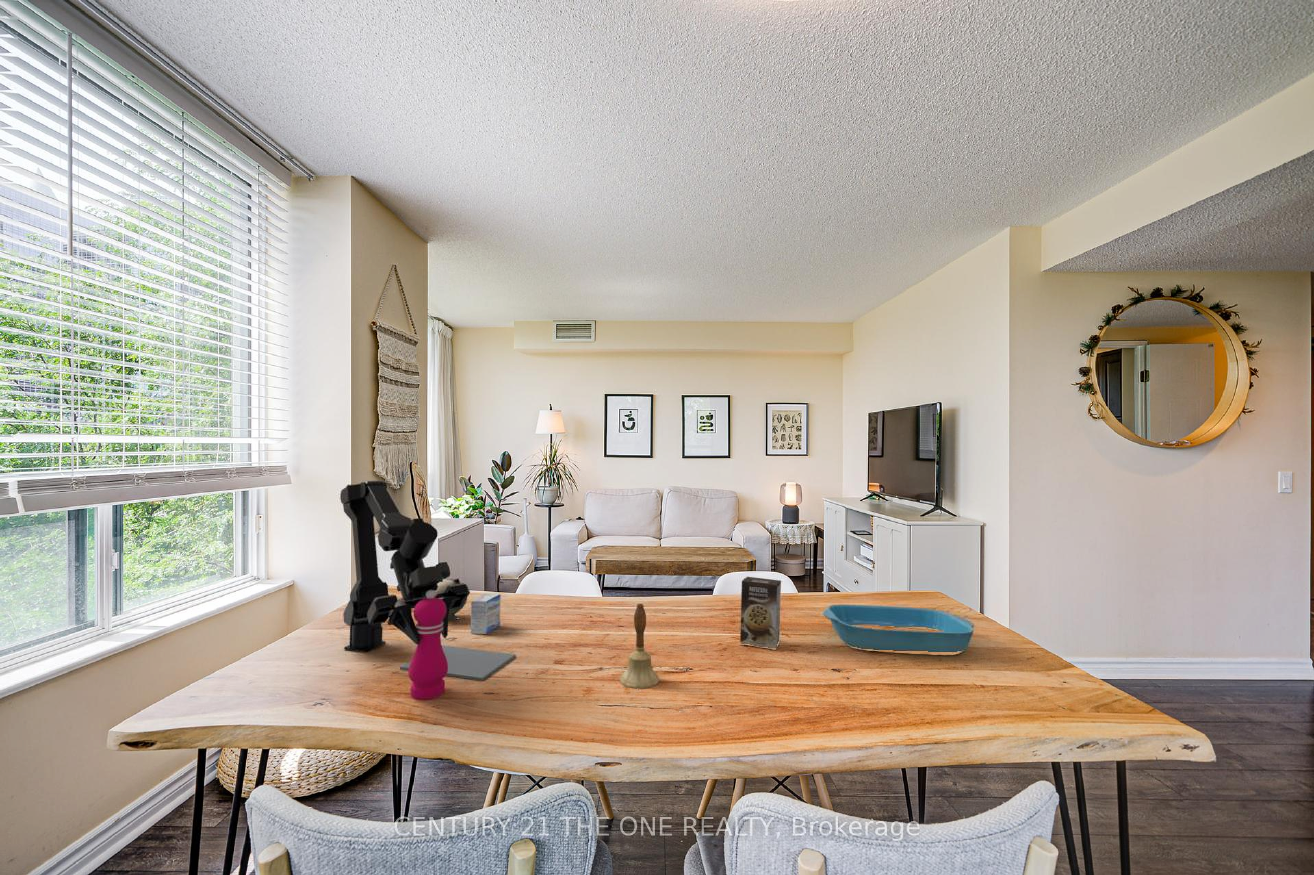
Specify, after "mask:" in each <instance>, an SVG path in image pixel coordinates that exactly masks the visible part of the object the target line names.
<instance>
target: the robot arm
mask: <svg viewBox="0 0 1314 875" xmlns="http://www.w3.org/2000/svg"><path fill="white" fill-rule="evenodd" d="M387 486H388V485H387V482H386V481H383V480H365V481H364V482H360V483H356V484H347V485H346V486H345V487H344V488H342V489H341V490H340V496H339V497H340V503H341V504H342V506H343V513H345V515H346V516H347V517H348V518H349V520H350V521H351V522H352V536H353V549H354V551H353V552H354V563H355V576H356V582H355V584H354V586H353V587H352V589H351V591H350V593H349V600H348V603H347V605H346V607H345V609H344V611H343V613H342V614H343V616H342V617H343V623H344V624H346V625H348V626H349V644H348V645H346V646H344V648H343V649H344V650H345V651H352V652H353V651H355V652H362V653H368V652H370V651H372V650H375V649H377V648H379V647H381V646H383V645H385V644H386V643H387V642H386V640H383V629H384V628H383V626H382V624H383V623H384V624H385V623H386V622H387V625H388V626H393V627H395V628H397V629H398V630H399V631H401V632H402V633H403V634H405V635H406V637H408V638H409V639H410V640H411V641H412V642H413V643H414V644H415V645H418V644H419V643H420V638H419V634H418V631H417V627H416V623H415V621H414V620H415V619H414V616H413V614H412V609H413V610H414V608H415V606H416V604H417V603H418V602H419V601H421V600H422V599H425V598H427V597H426V593H427V591H429V590H433V591H436V590H437V588H438V585H437V584H438V583H439V582H443V579H449V577H450V576H451V569H450V566H449V564H448V562H447V561H443V562H438V563H437V564H435V565H433V566H427V567H426V566H425V564H424V561H423V559H425V558H426V557H427V556H428V555H429V552H431V550H432V547H433V545H434V544H435V541H436V539H437V538H438V534H439V533H438V530H437V528H435V526H433V525H432V524H430V523H429V522H425V521H424V520H423V518H422V517H420V518H418V517H417V518H412V519H411V518H410V517H408V516H406V515H403V514H402V513H401V512H400V510H399V509H398V506H397V505H396V503H395V501H394V498H392V496H391V494H390V492H389V491H388V487H387ZM374 518H375V520H374ZM375 521H376V522H377V524H378V526H379V531H378V534H377V542H378V545H379V547H381V549H382V550H383V551H384V552H392V551H395V552H393V553H392V556H391V558H390V560H391V562H390V564H389V565H390V567H389V568H390V569H391V570H394V574H395V577H396V581H397V586H396V591H397V592H400V594H401V598H398V596H397V595H396V594H389V585H388V582H386V581H383V580H382V579H381V578H380V577H379V568H378V567H379V566H378V565H379V564H378V555H377V542H376V533H375V531H376V530H375ZM460 583H461V584H455V585H448V586H447V588H446V590H445V591H444V593H440V594H435V598H439V599H441V600H443V601H444V603H445V605H446V615H445V617H444V618H443V619H442V622H443V630H442V631H441V636H442V637H443V639H446V638H447V637H448V635H449V634H448V632H449V621H448V617H449V611H450V609H456V608H459V607H461V606H462V605H463V603H464V602H465V600H466V598H467V599H468V597H469V595H470V594H471V592H470V589H469V586H468V585H467V584H466V583H464V582H460Z"/></svg>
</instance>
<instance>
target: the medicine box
mask: <svg viewBox="0 0 1314 875" xmlns="http://www.w3.org/2000/svg"><path fill="white" fill-rule="evenodd" d="M501 595H502V594H500V593H485V594H483V595H481V596H479V597H477V598H475V599H473V600H471V601H470V602H471V604H470V634H474V635H483V634H486V635H488V634H489V633H491V632H492V631H494V630H495V629H497V628H498V627H500V626H501ZM496 627H497V628H496ZM493 629H494V630H493ZM490 631H491V632H490ZM487 633H488V634H487Z"/></svg>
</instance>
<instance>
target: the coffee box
mask: <svg viewBox="0 0 1314 875" xmlns="http://www.w3.org/2000/svg"><path fill="white" fill-rule="evenodd" d="M781 592H782V581H781V580H780V579H770V578H763V577H761V578H760V577H754V576H746V577H745V578H744V579H742V580H741V593H740V594H741V599H740V602H741V604H740V633H739V634H740V636H739V637H740V638H739V644H740V643H741V644H750V645H754V646H759V647H768V648H776V647H777V644H778V642H780V630H781V629H780V627H781V626H780V624H781V618H780V617H781V595H782V594H781ZM777 648H778V647H777ZM777 648H776V649H777Z"/></svg>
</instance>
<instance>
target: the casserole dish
mask: <svg viewBox="0 0 1314 875" xmlns="http://www.w3.org/2000/svg"><path fill="white" fill-rule="evenodd" d="M822 614H823V616H824V617H825V618H826V619H827V620H830V623H831V625H832V628H833V629H834V631H835V633H836V634H837V636H838V637H839V639H840V640H841V641H842V640H843V641H844V642H843V641H842V642H843V643H844V644H845V645H847V644H848V645H850V646H852V647H857V648H861V649H873V650H893V651H928V652H957V651H963V650H965V649H966V650H967V648H968V646H969V644H970V643H971V642H970V641H971V639H972V637H973V634H974V631H975V630H974V627H975V624H974V623H973V622H972V621H969V620H968V619H966V618H963V617H961V616H959V615H953V614H951V613H949V612H946V611H943V610H942V611H941V610H939V609H933V608H924V607H923V608H922V607H909V606H907V607H905V606H890V605H887V606H886V605H870V604H868V605H867V604H847V603H846V604H843V603H842V604H841V603H840V604H832V605H829V606H828V607H827V608H826V609H825V610H823V613H822ZM852 625H879V626H894V627H926V628H931V629H938V630H940V631H944V632H926V631H905V630H885V629H872V628H863V627H856V626H852ZM848 645H847V646H848ZM966 650H965V651H966Z"/></svg>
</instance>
